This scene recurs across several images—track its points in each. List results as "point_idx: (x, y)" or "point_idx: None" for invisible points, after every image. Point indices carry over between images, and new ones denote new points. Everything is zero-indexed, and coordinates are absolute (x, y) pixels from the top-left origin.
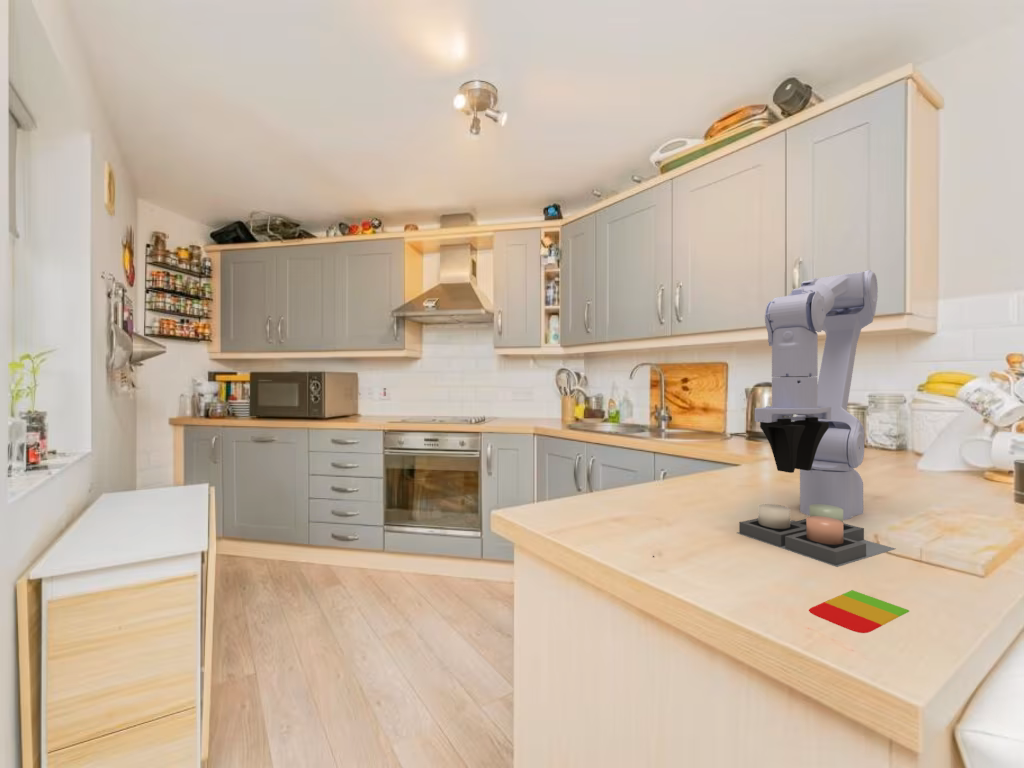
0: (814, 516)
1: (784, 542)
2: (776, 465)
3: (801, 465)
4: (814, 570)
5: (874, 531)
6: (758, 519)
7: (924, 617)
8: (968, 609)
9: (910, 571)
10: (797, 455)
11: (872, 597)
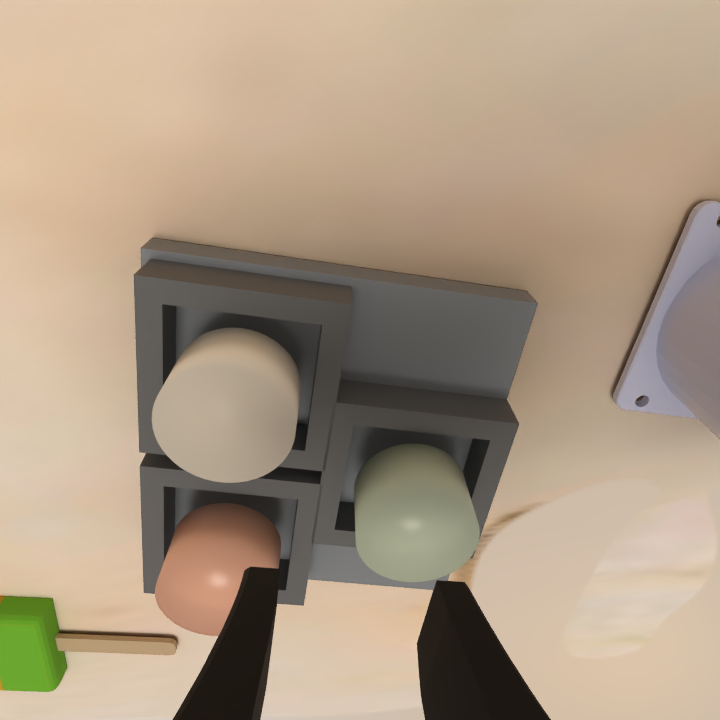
0: (239, 562)
1: None
2: (238, 592)
3: (432, 639)
4: None
5: (690, 468)
6: (193, 344)
7: (113, 672)
8: None
9: (357, 607)
10: (456, 687)
11: (37, 653)
